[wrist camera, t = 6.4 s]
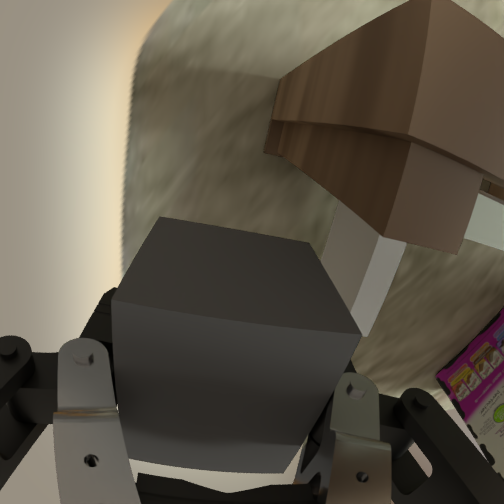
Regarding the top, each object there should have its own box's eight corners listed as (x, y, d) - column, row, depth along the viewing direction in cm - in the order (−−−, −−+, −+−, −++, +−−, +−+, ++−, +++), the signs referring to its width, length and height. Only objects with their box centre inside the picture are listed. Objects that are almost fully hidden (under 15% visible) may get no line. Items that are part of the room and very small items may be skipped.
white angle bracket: (501, 204, 20) (613, 271, 9) (465, 296, 23) (551, 387, 12) (323, 138, 17) (460, 185, 6) (288, 268, 20) (345, 427, 9)
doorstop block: (309, 243, 11) (362, 334, 6) (267, 372, 13) (283, 473, 9) (159, 216, 10) (111, 299, 6) (148, 355, 12) (125, 457, 8)
